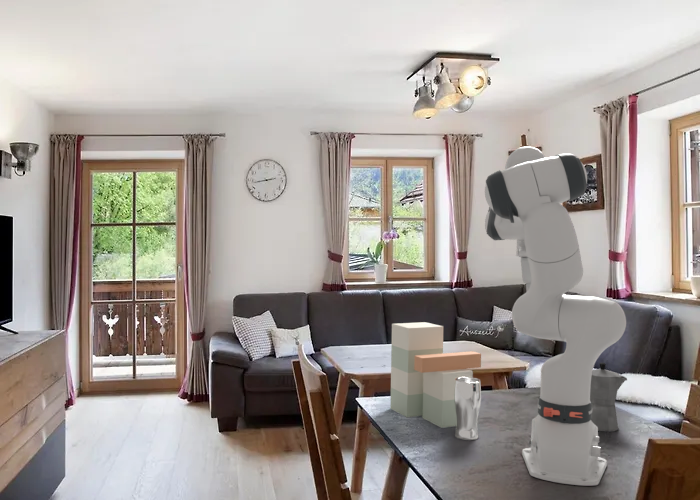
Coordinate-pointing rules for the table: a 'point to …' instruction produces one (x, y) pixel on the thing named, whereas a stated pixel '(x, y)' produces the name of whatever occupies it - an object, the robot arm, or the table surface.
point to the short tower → (441, 396)
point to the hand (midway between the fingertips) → (530, 296)
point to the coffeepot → (604, 398)
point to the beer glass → (467, 407)
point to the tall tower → (411, 364)
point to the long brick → (447, 361)
